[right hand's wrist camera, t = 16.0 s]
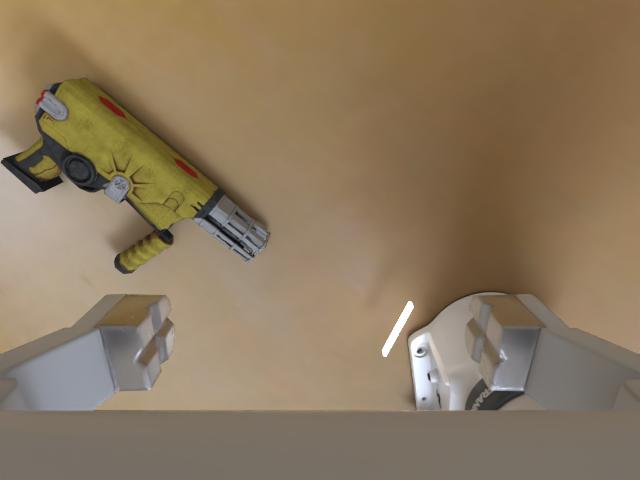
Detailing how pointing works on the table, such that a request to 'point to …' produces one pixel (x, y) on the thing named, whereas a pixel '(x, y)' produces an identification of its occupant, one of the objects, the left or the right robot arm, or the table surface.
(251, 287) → the table surface
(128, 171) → the toy gun
